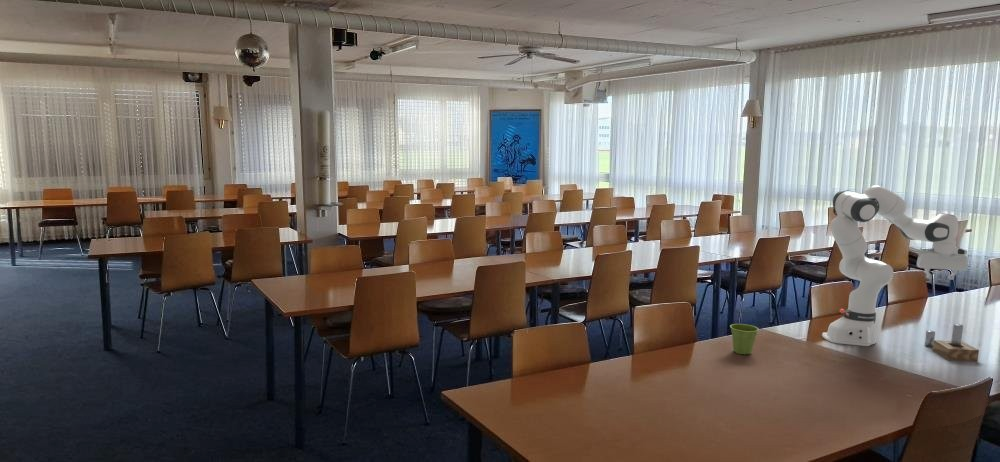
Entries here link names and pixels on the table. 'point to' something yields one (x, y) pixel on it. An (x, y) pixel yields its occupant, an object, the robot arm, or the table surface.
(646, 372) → the table surface
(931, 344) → the short pin
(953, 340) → the long pin
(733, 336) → the plant pot
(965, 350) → the hole block
